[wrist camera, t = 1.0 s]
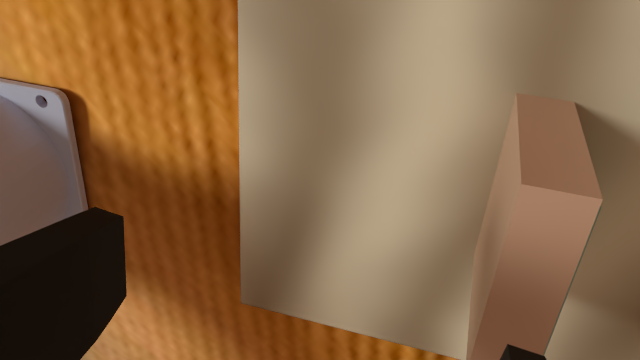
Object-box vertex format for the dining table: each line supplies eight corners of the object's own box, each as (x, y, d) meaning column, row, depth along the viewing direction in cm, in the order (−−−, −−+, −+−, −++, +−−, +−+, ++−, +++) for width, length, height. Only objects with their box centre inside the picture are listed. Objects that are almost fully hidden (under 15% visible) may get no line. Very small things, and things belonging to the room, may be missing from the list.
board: (249, 287, 24) (240, 303, 24) (250, -129, 16) (236, -128, 15) (671, 393, 21) (678, 415, 20) (941, -68, 13) (971, -63, 12)
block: (473, 255, 19) (464, 378, 15) (516, 92, 16) (521, 183, 12) (526, 266, 19) (533, 396, 14) (579, 103, 16) (610, 200, 11)
